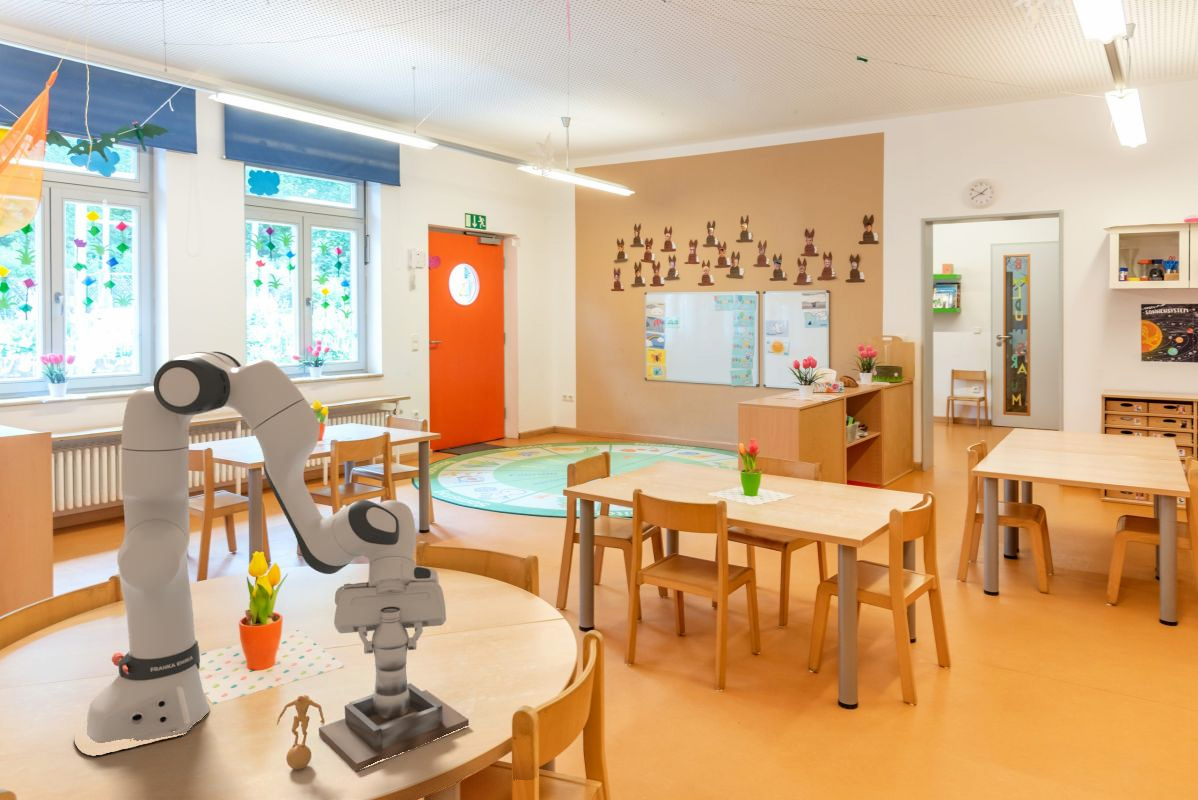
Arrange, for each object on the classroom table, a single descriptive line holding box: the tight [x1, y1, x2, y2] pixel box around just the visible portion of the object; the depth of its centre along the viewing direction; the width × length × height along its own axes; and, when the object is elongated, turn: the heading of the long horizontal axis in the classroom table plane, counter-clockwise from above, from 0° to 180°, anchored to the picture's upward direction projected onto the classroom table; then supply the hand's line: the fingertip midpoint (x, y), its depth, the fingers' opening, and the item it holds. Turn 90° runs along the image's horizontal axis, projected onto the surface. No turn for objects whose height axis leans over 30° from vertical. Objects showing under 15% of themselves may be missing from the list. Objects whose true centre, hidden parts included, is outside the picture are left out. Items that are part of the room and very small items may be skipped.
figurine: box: [276, 694, 325, 770], centre depth 142 cm, size 8×6×12 cm
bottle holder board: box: [318, 682, 470, 772], centre depth 153 cm, size 22×16×5 cm
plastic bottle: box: [371, 606, 410, 718], centre depth 152 cm, size 6×7×20 cm
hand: (390, 650), depth 151 cm, fingers closed on plastic bottle, 6 cm apart
